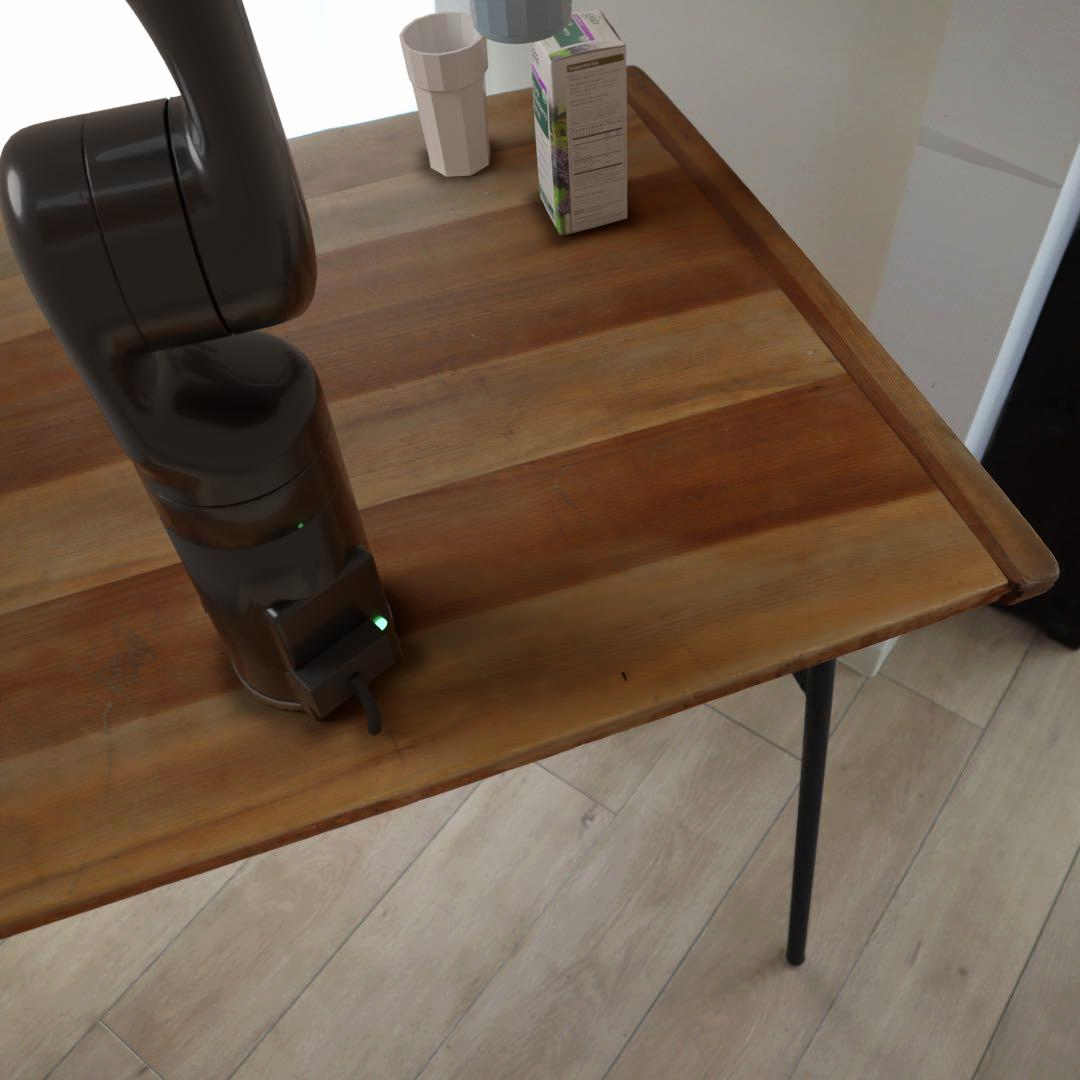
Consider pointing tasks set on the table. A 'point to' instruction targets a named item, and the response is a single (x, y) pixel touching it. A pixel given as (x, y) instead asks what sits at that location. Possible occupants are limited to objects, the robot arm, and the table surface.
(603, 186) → the syrup box
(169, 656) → the table surface
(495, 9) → the glass
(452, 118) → the cup
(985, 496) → the table surface
